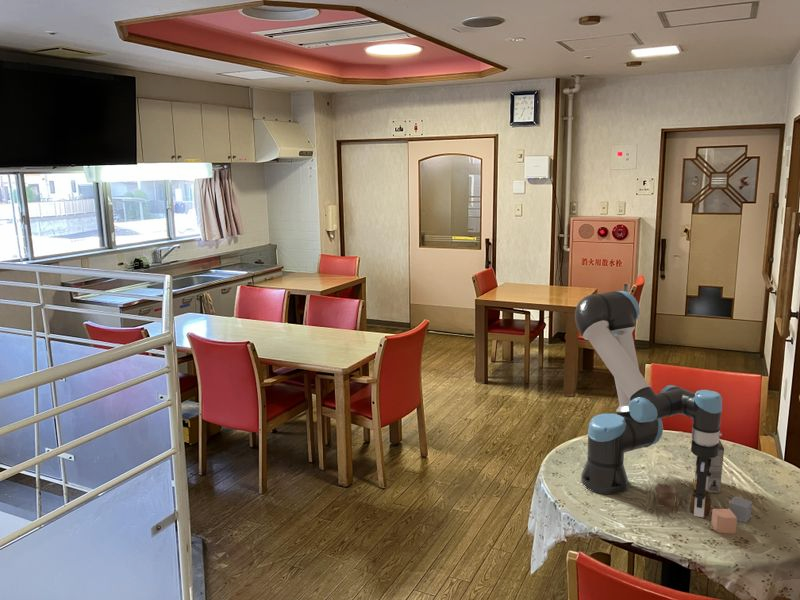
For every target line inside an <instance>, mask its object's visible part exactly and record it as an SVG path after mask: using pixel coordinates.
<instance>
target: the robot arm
mask: <svg viewBox="0 0 800 600" xmlns="http://www.w3.org/2000/svg"><path fill="white" fill-rule="evenodd" d="M640 311H641V310H640V305H639V302H638V301H637V299H636V297H635V296H634V295H632V294H631V293H630V292H628V291H626V290H625V291H624V290H616V291H615V290H614V291H613V290H612V291H607V292H603V293H596V294H594V293H592V294H589V295H587V296H584V297H583V298H582V299H581V300H579V302H578V303H577V305H576V308H575V312H574V320H575V321H574V322H575V325H576V328H577V330H578V332H579V334H580V335H581V337H582V339H584V340H585V341H589V343H590V345H591V346H592V348H593V349H594V350H595V352H596V353H597V355H598V356H599V357H600V358H601V360H602V362H603V363H604V365H605V366H606V368H607V369H608V370H609V372H610V373H611V374H612V376H613V377H614V378H613V379H614V382H615V387H616V392H617V398H618V407H617V409H616V410H615V411H616V413H610V412H609V413H601V414H600V413H599V414H597V415H595V416H594V417H592V418H591V419H590V421H589V425H588V429H587V434H588V435H587V438H588V439H587V460H586V462H585V464H584V468H583V469H582V472H581V476H580V477H581V478H580V482H581V481H582V482H581V484H582V483H583V484H584V485H585V486H586V487H587V488H589V489H591V490H593V491H592V492H594V491H595V492H594V493H597V494H602V495H617V494H620V493H621V494H622V493H623V492H625V491H626V490H627V489H628V487H629V486H628V485H629V480H628V479H629V478H628V475H627V472H626V469H625V465H624V461H625V459H624V457H625V453H628V452H631V451H635V450H638V449H643V448H648V447H651V446H652V445H656V443H658V442H659V441H660V439H661V438H662V436H663V431H664V426H663V421H662V419H664V418H668V417H673V416H676V415H682V416H685V417H688V418H690V419H692V428H691V429H692V430H691V446H690V448H691V449H690V451H691V453H692V454H693V455H694V456H695V457H697V461H696V460H695V466H696V465H697V469H696V468H695V469H696V474H697V482H696V493H695V494H693V496H694V497H695V505H694V515H693V516H695V517H698V516H699V517H698V518H703V519H704V518H705V517H704V506H705V490H707V488H708V482H707V481H708V480H707V479H708V477H707V476H711V473H710V472H709V468H710V466H711V458H714V457H716V456H718V450H719V444H718V443H719V440H720V437H722V436H723V434H722V432H721V422H722V420H721V419H722V413H723V398H722V395H721V394H720V393H719V392H717V391H715V390H714V391H713V390H710V389H700V390H696V392H692V391H690V390H687V389H684V388H683V387H680V386H677V385H673V384H668V385H666V386H665V387H664V388H662V389H661V390H660V392H658V393H656V392H655V391H654V390H653V388H652V387H651V385H650V384H649V382H648V381H647V380H646V378H645V377H644V376H643V374H642V372H640V366H639V361H638V357H637V351H636V347H635V341H634V338H633V337H634V336H633V333H634V332H633V331H634V330H635V329H636V323H635V322H636V321H637V320H638V318H639V316H640ZM706 480H707V481H706ZM583 484H582V485H583ZM584 485H583V486H584ZM585 486H584V487H585ZM586 487H585V488H586ZM587 488H586V489H587ZM589 489H588V490H589ZM591 490H590V491H591Z"/></svg>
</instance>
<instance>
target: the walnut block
mask: <svg viewBox="0 0 800 600" xmlns="http://www.w3.org/2000/svg"><path fill="white" fill-rule="evenodd" d="M676 494H677V493H676V487H675V485H673V484H672V485H671V484H662V483H658V484H657V492H656V502H657V506H659V507H666V508H667V507H668V508H675V507H676Z"/></svg>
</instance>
